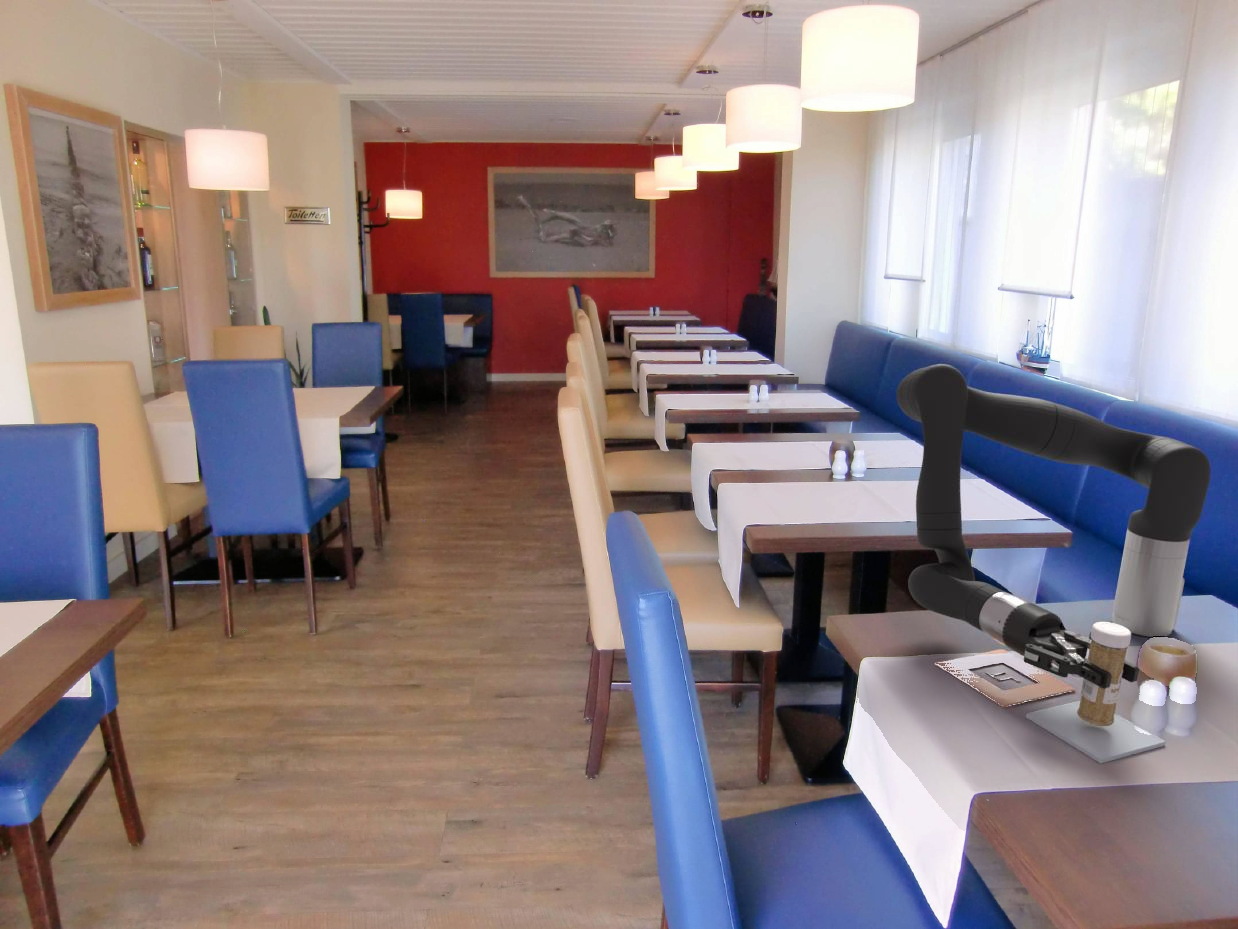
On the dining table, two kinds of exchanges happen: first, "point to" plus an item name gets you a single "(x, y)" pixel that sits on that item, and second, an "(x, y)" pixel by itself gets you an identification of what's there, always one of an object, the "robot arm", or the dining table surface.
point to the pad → (1094, 733)
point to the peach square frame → (1017, 695)
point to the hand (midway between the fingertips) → (1122, 678)
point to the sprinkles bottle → (1109, 656)
